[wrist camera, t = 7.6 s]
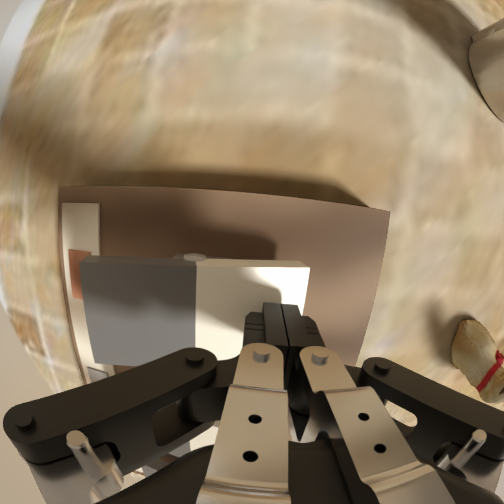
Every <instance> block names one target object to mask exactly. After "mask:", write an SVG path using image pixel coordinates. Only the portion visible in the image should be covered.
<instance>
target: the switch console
mask: <svg viewBox="0 0 504 504" xmlns="http://www.w3.org/2000/svg"><path fill="white" fill-rule="evenodd" d="M58 218H59V247H60V261H61V272H62V281H63V289H64V296H65V302H66V309H67V314H68V320H69V325H70V330H71V335H72V339H73V343H74V348H75V352H76V356H77V359H78V363H79V367H80V370H81V374H82V377H83V380H84V384H85V385H86V384H89V383H92V382H95V381H98V380H101V379H104V378H107V377H110V376H113V375H116V374H118V373H121V372H124V371H127V370H129V369H132V368H135V367H137V366H123V365H109V364H97V363H95V362H94V358H93V354H92V349H91V344H90V339H89V334H88V329H87V323H86V317H85V311H84V304H83V296H82V288H81V278H80V267H79V262H80V261H81V260H83V259H84V258H85V257H86V256H87V255H98V256H128V257H162V258H184V255H185V254H191V253H196V254H203V255H205V256H206V259H242V260H291V261H300V262H302V263H303V264H305V265H307V266H308V267H310V271H309V277H308V284H307V290H306V296H305V302H304V308H303V314H302V316H309V317H310V318H311V319H313V320H314V321H315V322H316V325H317V327H318V330H319V332H320V334H321V337H322V339H323V342H324V344H325V346H326V348H328V349H331V350H333V351H334V352H336V353H337V354H338V356H339V357H340V359H341V361H342V362H343V364H344V365H348V366H353V367H355V365H356V362H357V359H358V356H359V353H360V349H361V346H362V343H363V340H364V336H365V333H366V329H367V326H368V322H369V318H370V314H371V311H372V307H373V303H374V298H375V294H376V290H377V286H378V281H379V276H380V271H381V266H382V261H383V256H384V250H385V245H386V239H387V232H388V225H389V218H390V211H386V210H380V209H375V208H370V207H364V206H357V205H351V204H344V203H337V202H330V201H322V200H315V199H307V198H298V197H290V196H281V195H271V194H261V193H250V192H239V191H226V190H212V189H196V188H177V187H151V186H69V187H59V208H58ZM288 440H289V441H292V437H291V432H290V428H289V423H288ZM178 458H179V457H177V456H174V455H171V454H169V453H168V454H166V455H164V456H162V457H160V458H158V459H159V460H162V461H164V462H167V463H169V464H170V463H171V462H173V461H175V460H176V459H178ZM133 472H134V473H138V474H141V475H144V473H143V470H142V468H139V469H137V470H135V471H133Z"/></svg>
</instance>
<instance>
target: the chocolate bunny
mask: <svg viewBox="0 0 504 504" xmlns="http://www.w3.org/2000/svg"><path fill="white" fill-rule="evenodd" d="M451 350H452V354H451V355H452V358H451V359H452V362H453V364H454V366H455V367H456V368H457V369H460V371H461V372H462V373H463V374H464V375H465V376H466V378H467V380H468V381H469V383H470V384H471V385H472V386H474V387H475V388H476V389H477V390H478V392H479V394H480V397H481V398H482V400H483V401H485V402H487V403H495V404H498V403H501V402H504V368H503V367H501V365H502V363H503V360H504V356H503V355H502V354H501V353H499V351H498V350H497V347H496V344H495V342H494V340H493V338H492V337H491V335H490V334H489V332H488V331H487V329H486V328H485V327H484V326H483V325H482V324H481V323H480V322H478V321H476V320H462V321H461V322H460V323H459V325H458V331H457V333H456V335H455V338H454V340H453V343H452V346H451Z"/></svg>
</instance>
